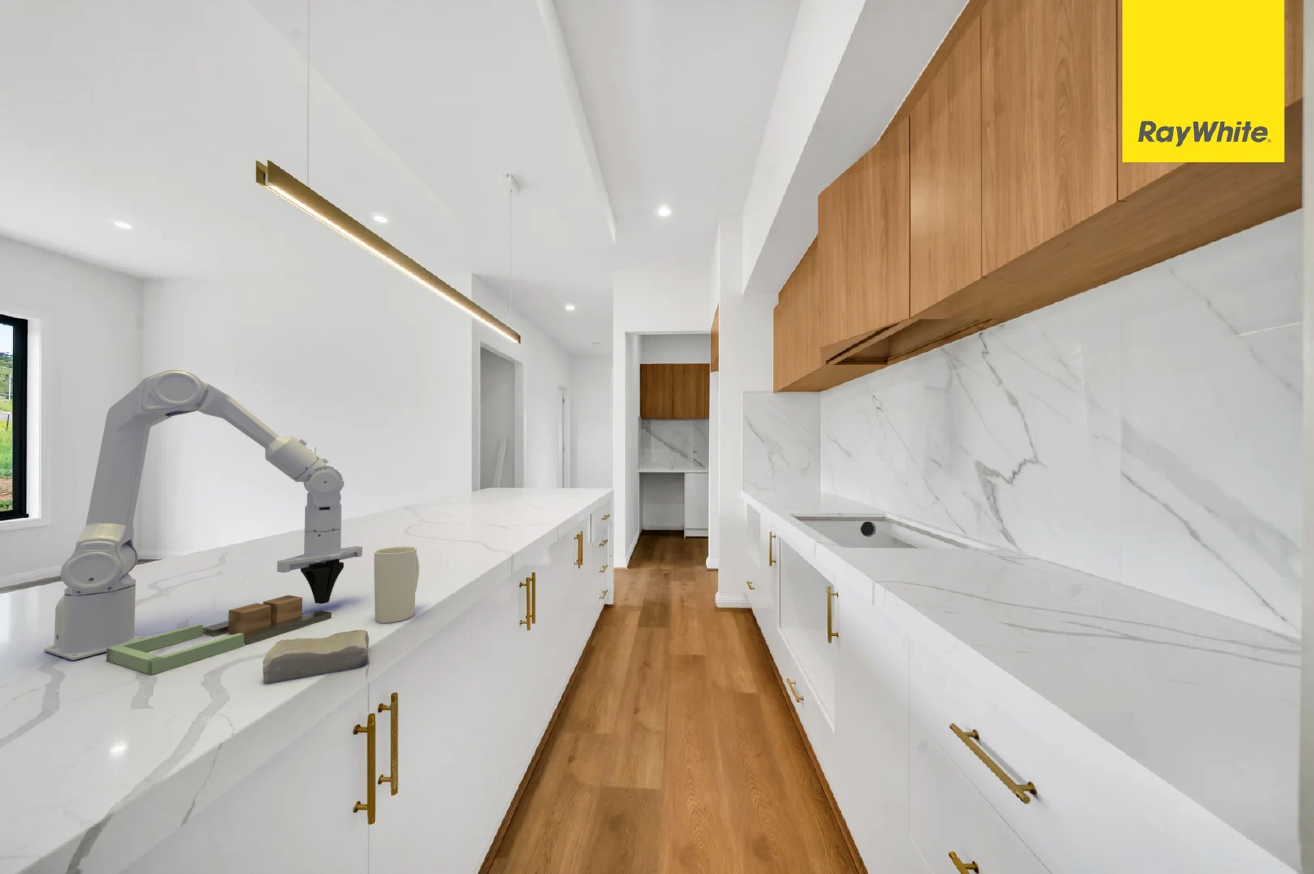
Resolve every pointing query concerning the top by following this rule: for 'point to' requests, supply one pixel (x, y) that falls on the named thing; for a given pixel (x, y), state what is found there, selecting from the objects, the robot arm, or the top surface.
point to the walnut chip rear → (284, 608)
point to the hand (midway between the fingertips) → (321, 602)
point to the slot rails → (271, 627)
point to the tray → (151, 664)
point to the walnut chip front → (248, 618)
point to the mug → (395, 583)
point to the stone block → (315, 656)
